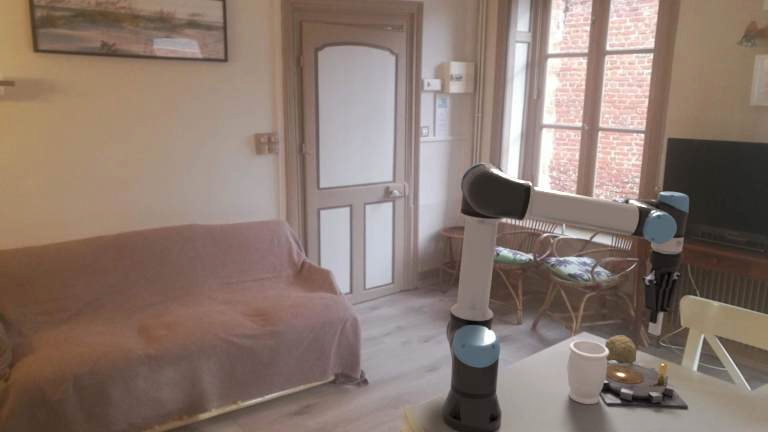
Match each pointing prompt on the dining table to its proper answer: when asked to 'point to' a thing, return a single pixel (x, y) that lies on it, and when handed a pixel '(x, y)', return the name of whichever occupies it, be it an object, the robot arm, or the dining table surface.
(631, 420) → the dining table surface
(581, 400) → the jar
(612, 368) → the sprocket
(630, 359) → the decorative object
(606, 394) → the base plate
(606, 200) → the robot arm
